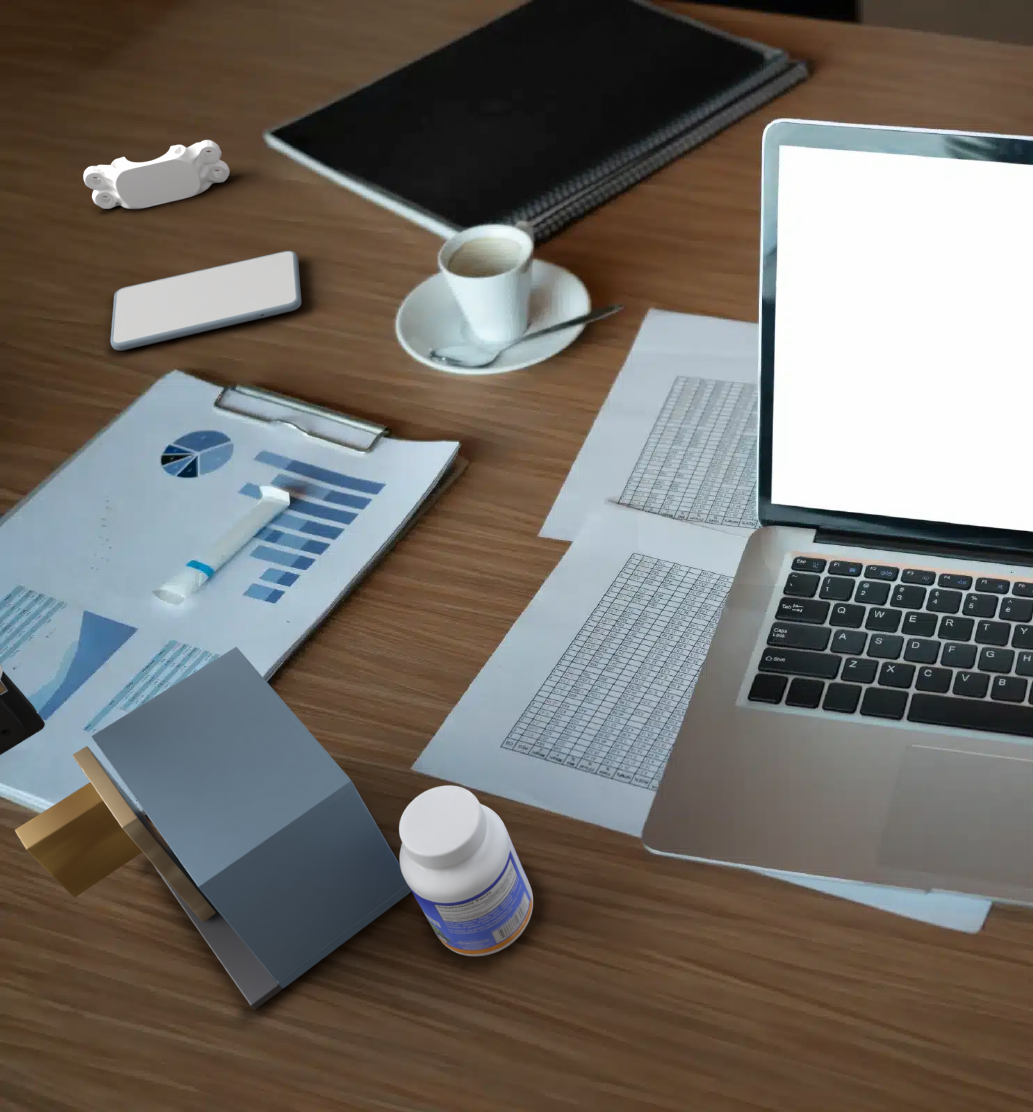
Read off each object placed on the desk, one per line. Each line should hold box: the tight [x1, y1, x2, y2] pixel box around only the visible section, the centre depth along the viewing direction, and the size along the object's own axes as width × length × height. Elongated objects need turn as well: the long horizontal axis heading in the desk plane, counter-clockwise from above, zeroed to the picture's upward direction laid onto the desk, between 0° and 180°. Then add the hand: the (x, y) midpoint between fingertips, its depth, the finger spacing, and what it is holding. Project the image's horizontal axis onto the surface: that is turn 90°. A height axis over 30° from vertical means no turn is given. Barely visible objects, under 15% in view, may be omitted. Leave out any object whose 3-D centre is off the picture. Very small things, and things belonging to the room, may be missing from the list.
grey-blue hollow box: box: [91, 646, 412, 1010], centre depth 69 cm, size 10×12×11 cm
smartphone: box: [109, 250, 302, 351], centre depth 109 cm, size 8×1×15 cm
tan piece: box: [14, 745, 216, 922], centre depth 67 cm, size 5×6×10 cm
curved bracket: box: [82, 139, 231, 210], centre depth 120 cm, size 12×2×4 cm, turn 112°
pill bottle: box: [398, 784, 534, 957], centre depth 67 cm, size 5×5×10 cm
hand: (11, 735), depth 68 cm, fingers closed
